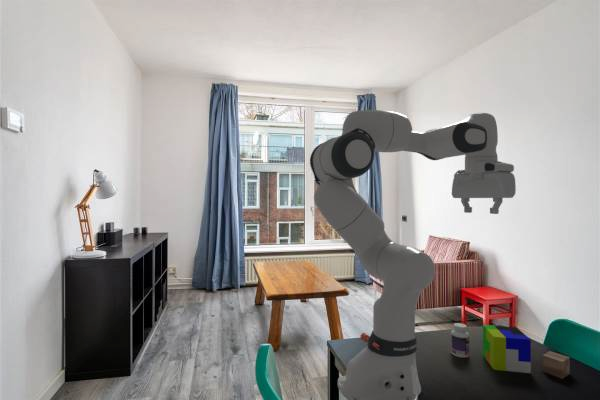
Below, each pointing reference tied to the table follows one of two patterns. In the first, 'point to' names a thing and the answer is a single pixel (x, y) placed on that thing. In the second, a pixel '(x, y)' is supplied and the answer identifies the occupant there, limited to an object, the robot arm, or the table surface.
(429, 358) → the table surface
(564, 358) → the walnut block
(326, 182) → the robot arm
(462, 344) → the pill bottle
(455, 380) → the table surface
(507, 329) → the puzzle toy
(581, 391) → the table surface
